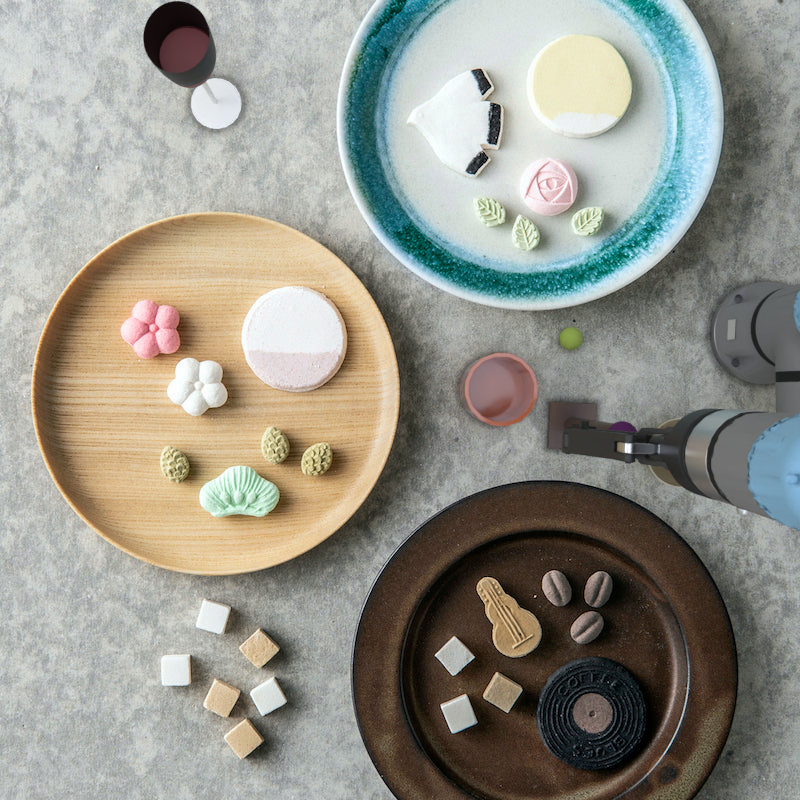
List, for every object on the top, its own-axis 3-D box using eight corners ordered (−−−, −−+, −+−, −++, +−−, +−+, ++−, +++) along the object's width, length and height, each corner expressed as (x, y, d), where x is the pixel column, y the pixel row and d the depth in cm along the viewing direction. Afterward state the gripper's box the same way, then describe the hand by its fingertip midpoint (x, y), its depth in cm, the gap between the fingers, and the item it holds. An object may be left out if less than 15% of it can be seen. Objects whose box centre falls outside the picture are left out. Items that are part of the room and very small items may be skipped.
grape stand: (595, 403, 108) (647, 406, 86) (593, 449, 108) (645, 464, 86) (549, 401, 108) (589, 404, 86) (547, 448, 108) (587, 462, 86)
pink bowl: (528, 357, 108) (539, 354, 100) (525, 424, 108) (536, 427, 100) (460, 354, 108) (466, 351, 100) (458, 422, 108) (463, 424, 100)
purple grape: (632, 421, 86) (642, 422, 82) (631, 449, 86) (641, 451, 83) (604, 419, 86) (613, 421, 82) (603, 448, 86) (611, 450, 82)
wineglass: (248, 81, 107) (216, 9, 87) (235, 138, 107) (200, 79, 87) (196, 68, 106) (152, -7, 86) (183, 125, 106) (136, 64, 86)
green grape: (579, 328, 108) (585, 326, 104) (578, 351, 108) (585, 349, 104) (557, 327, 108) (562, 325, 104) (556, 350, 108) (561, 348, 104)
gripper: (572, 496, 58) (522, 468, 79) (878, 507, 58) (746, 476, 79) (576, 403, 57) (525, 400, 79) (882, 415, 58) (749, 408, 79)
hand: (636, 438), depth 79 cm, fingers open, 13 cm apart
